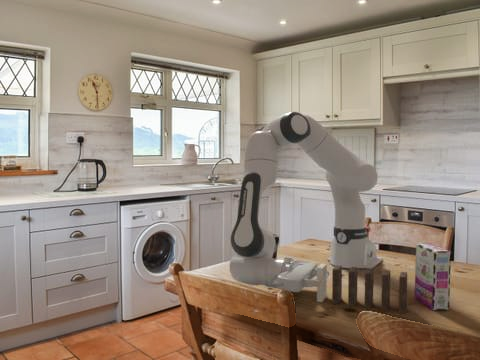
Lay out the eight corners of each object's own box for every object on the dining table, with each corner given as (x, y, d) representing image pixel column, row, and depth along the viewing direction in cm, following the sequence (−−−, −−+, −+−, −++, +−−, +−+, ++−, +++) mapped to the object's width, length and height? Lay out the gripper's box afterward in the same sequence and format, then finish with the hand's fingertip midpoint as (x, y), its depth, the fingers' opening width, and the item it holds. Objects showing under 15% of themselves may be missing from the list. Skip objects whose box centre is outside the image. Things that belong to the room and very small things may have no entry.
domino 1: (332, 303, 129) (332, 269, 129) (336, 298, 134) (336, 265, 133) (337, 304, 129) (338, 269, 128) (341, 299, 133) (341, 265, 132)
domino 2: (348, 305, 128) (348, 271, 127) (351, 300, 132) (351, 266, 131) (353, 306, 127) (354, 271, 126) (357, 301, 131) (357, 267, 131)
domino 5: (398, 313, 122) (399, 276, 121) (400, 306, 126) (401, 271, 126) (405, 313, 121) (405, 277, 120) (406, 307, 126) (407, 272, 125)
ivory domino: (316, 301, 131) (317, 267, 131) (321, 296, 136) (321, 263, 135) (322, 302, 131) (322, 268, 130) (326, 296, 135) (326, 264, 134)
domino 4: (381, 310, 124) (382, 274, 123) (383, 304, 128) (384, 270, 128) (387, 311, 123) (388, 275, 122) (389, 305, 128) (390, 270, 127)
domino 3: (364, 308, 126) (365, 272, 125) (367, 302, 130) (367, 268, 129) (370, 309, 125) (371, 273, 124) (373, 303, 130) (373, 268, 129)
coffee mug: (264, 264, 172) (263, 238, 171) (253, 259, 180) (252, 234, 179) (289, 260, 178) (289, 235, 177) (277, 256, 185) (277, 231, 184)
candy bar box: (450, 310, 123) (452, 251, 122) (433, 311, 123) (434, 251, 122) (430, 297, 134) (431, 242, 133) (413, 297, 134) (414, 242, 133)
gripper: (267, 272, 128) (315, 277, 123) (290, 255, 147) (332, 260, 141) (267, 294, 129) (315, 300, 123) (290, 275, 147) (332, 279, 142)
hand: (324, 278), depth 132 cm, fingers open, 8 cm apart
